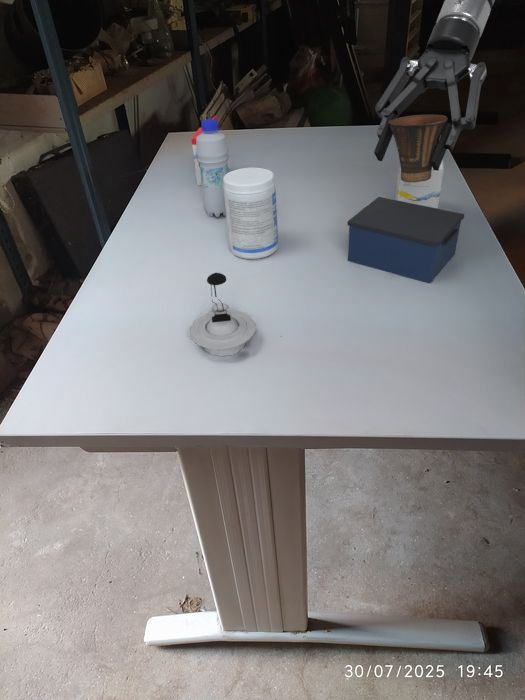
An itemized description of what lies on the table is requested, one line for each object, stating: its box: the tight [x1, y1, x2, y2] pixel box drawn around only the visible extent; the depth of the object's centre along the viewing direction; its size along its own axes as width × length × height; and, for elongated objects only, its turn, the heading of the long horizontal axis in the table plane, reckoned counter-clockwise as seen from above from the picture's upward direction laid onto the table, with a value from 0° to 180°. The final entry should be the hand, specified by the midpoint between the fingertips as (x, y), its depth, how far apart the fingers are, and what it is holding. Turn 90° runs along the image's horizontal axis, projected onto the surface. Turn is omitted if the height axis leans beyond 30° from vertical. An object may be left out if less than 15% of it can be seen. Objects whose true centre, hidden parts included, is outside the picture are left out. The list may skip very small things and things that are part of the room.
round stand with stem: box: [188, 272, 257, 357], centre depth 79 cm, size 12×10×10 cm
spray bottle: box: [190, 114, 218, 187], centre depth 133 cm, size 8×5×15 cm, turn 172°
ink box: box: [394, 159, 445, 209], centre depth 111 cm, size 9×8×12 cm
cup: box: [389, 114, 449, 182], centre depth 88 cm, size 9×9×10 cm
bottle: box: [196, 118, 230, 218], centre depth 114 cm, size 7×7×20 cm
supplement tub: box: [223, 167, 279, 260], centre depth 102 cm, size 10×10×15 cm
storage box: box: [346, 196, 465, 284], centre depth 98 cm, size 17×13×8 cm
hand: (405, 161), depth 87 cm, fingers closed on cup, 9 cm apart
